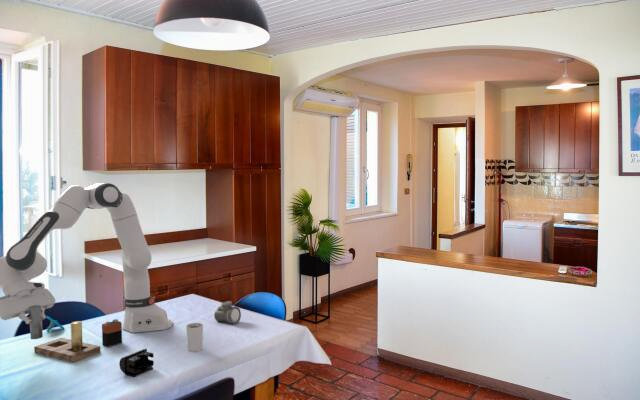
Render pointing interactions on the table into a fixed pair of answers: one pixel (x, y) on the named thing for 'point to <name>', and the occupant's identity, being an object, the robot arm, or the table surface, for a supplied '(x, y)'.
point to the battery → (112, 333)
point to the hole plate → (66, 350)
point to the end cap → (136, 363)
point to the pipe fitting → (228, 313)
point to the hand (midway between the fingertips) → (36, 320)
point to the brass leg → (76, 336)
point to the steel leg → (35, 322)
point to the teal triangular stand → (53, 324)
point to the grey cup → (195, 336)
